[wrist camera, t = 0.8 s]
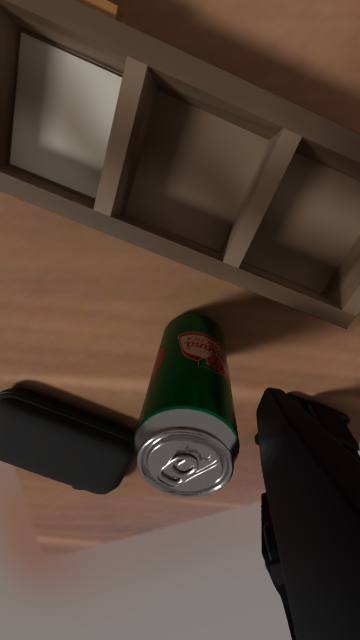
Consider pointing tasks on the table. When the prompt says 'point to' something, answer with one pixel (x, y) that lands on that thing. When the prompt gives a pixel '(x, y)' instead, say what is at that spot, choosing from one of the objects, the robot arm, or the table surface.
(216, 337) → the soda can
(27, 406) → the carrying case or bag
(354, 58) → the table surface
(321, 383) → the table surface
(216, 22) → the table surface
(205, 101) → the can rack
